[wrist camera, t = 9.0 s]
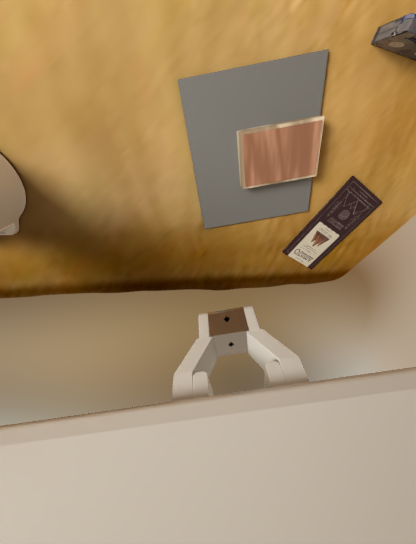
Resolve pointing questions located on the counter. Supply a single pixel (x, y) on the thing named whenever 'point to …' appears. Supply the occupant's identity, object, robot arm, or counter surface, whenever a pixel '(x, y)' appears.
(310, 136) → the wooden block
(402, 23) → the mini dv tape
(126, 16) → the counter surface
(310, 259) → the chocolate bar
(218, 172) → the mat
